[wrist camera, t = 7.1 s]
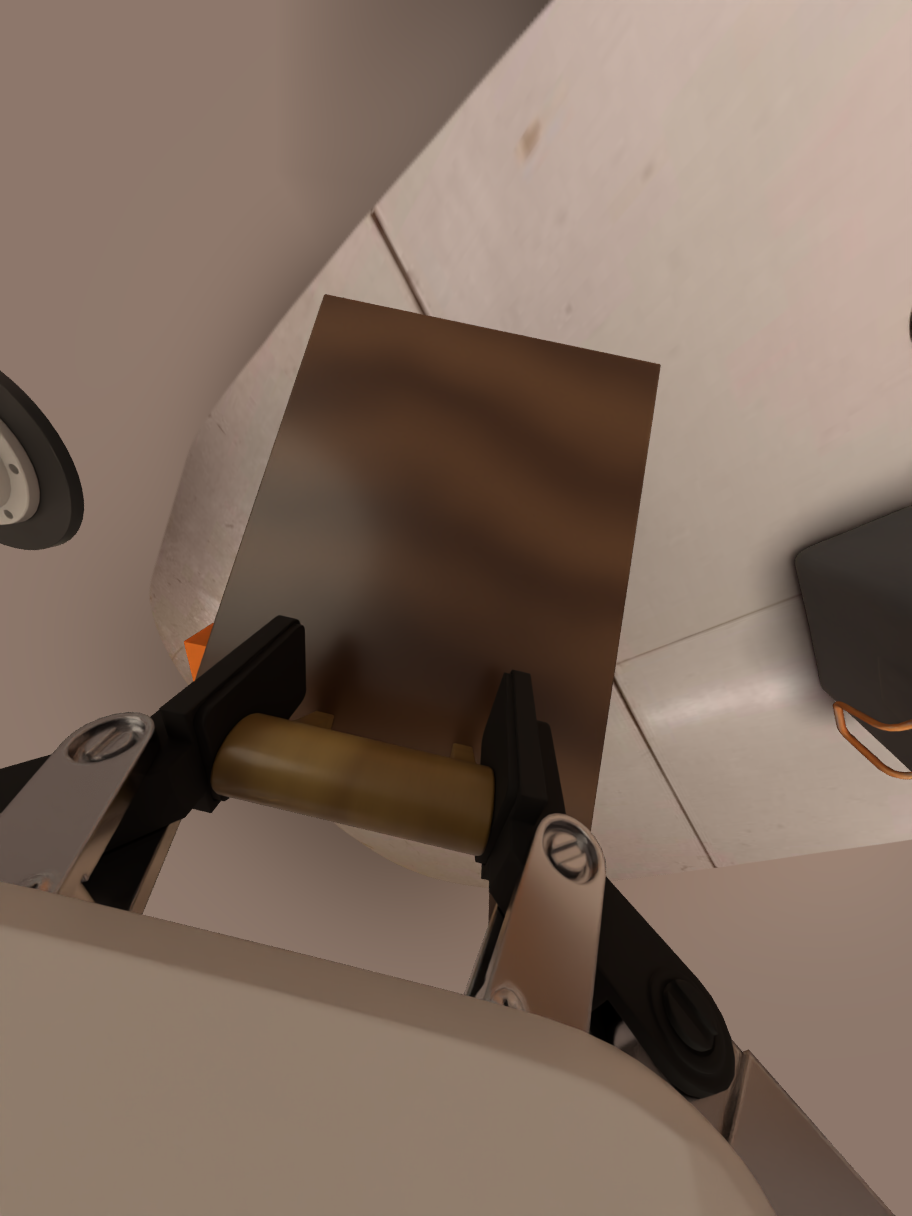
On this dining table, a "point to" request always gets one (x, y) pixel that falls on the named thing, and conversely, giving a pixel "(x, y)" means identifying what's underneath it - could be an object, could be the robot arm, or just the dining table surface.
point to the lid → (436, 567)
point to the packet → (197, 648)
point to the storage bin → (865, 629)
